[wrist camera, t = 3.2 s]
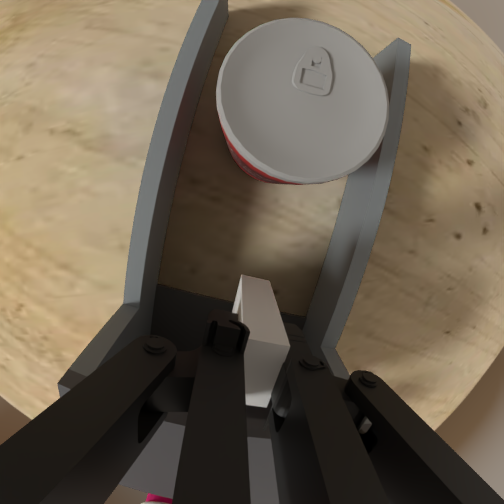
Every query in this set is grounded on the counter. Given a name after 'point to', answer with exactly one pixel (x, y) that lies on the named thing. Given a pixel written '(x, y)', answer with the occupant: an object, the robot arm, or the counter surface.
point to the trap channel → (199, 306)
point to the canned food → (301, 102)
